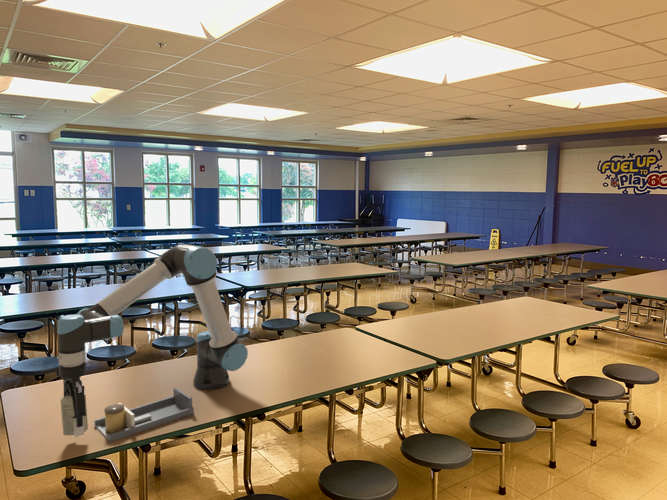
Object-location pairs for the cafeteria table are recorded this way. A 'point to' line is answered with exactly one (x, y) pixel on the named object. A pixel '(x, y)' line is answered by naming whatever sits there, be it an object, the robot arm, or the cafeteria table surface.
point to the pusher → (130, 419)
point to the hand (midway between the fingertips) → (75, 430)
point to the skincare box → (70, 415)
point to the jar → (114, 418)
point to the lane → (153, 415)
